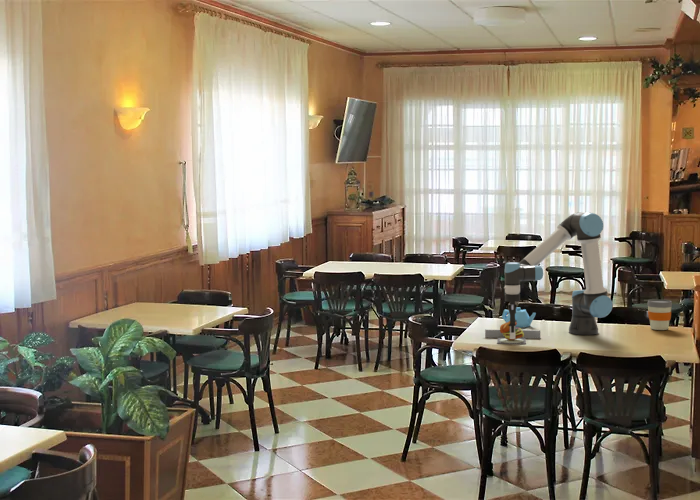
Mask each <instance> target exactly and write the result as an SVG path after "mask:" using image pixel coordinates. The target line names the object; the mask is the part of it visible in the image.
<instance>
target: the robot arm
mask: <svg viewBox="0 0 700 500" xmlns="http://www.w3.org/2000/svg"><path fill="white" fill-rule="evenodd" d="M556 228H557V229H555V230H554V231H553V232H552V233H551V234H550V235H549V236H547V238H545V239H544V240H542V242H541V243H540V244H539V245H538V246H536V247H535V248H534V249H533V250H531V251H530V252H529V253H528V254H527V255H526V256H525V257H524V258H522V259H521V260H520V261H519V262H510V261H509V262H506V263H505V264H504V287H503V289H504V301H505V302H509V304H508V310H509V313H510V324H509V326H510V339H515V322H517V320H515V314H516V307H517V304H516V302H517V303H518V302H520V301H521V294H520V293H521V282H530V281H533V282H537V281H541V280H542V279H543V277H544V270H543V267H542V266H541V265H540V264H541V263H542V262H543V261H545V260H546V259H547V258H548V257H549V256H550V255H551V254H553V253H554V252H555V251H556V250H557V249H559V247H561V245H563V244H564V243H566V241H570V240H571V239H573V238H574V237H576V239H577V241H578V242H579V243H580V248H581V255H582V256H581V258H582V263H583V264H582V265H583V273H584V281H585V289H579V290H577V289H574V290H573V291H572V295H571V299H572V300H571V302H572V303H571V307H572V308H571V310H572V313H571V315H572V316H571V321H570V324H569V327H568V333H569V334H573V335H579V336H580V335H582V336H590V335H591V336H592V335H598V334H599V326H598V324H597V321H596V318H599V319H601V318H606V317H607V316H608V315H609V314H610V313H611V312H612V310H613V300H612V299H611V298H610V297H609V296H608V291H607V289H606V288H605V286H604V280H603V274H602V273H603V272H602V265H601V257H600V256H601V255H600V254H601V253H600V247H599V242H600V241H599V240H601V238H602V237H601V233H602V231H603V230H604V221H603V219H602V217H601V216H600V215H598V214H597V213H594V212H589V211H588V212H582V211H581V212H579V211H578V212H574V213H572V214H570V215H569V216H568V217H566V218H565V219H564V220H563V221H562V222H560V223H559V224H558V225H557V227H556ZM509 313H508V314H509Z"/></svg>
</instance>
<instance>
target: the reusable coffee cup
mask: <svg viewBox="0 0 700 500" xmlns="http://www.w3.org/2000/svg"><path fill="white" fill-rule="evenodd" d="M672 302H673V301H672V300H668V299H648V300H647V303H646V304H647V307H648V310H647V314H648V320H649V324H650V326H649V327H650V329H651V330H656V331H657V330H658V331H665V330H669V325H670V321H671V318H672V307H673V303H672Z"/></svg>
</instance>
